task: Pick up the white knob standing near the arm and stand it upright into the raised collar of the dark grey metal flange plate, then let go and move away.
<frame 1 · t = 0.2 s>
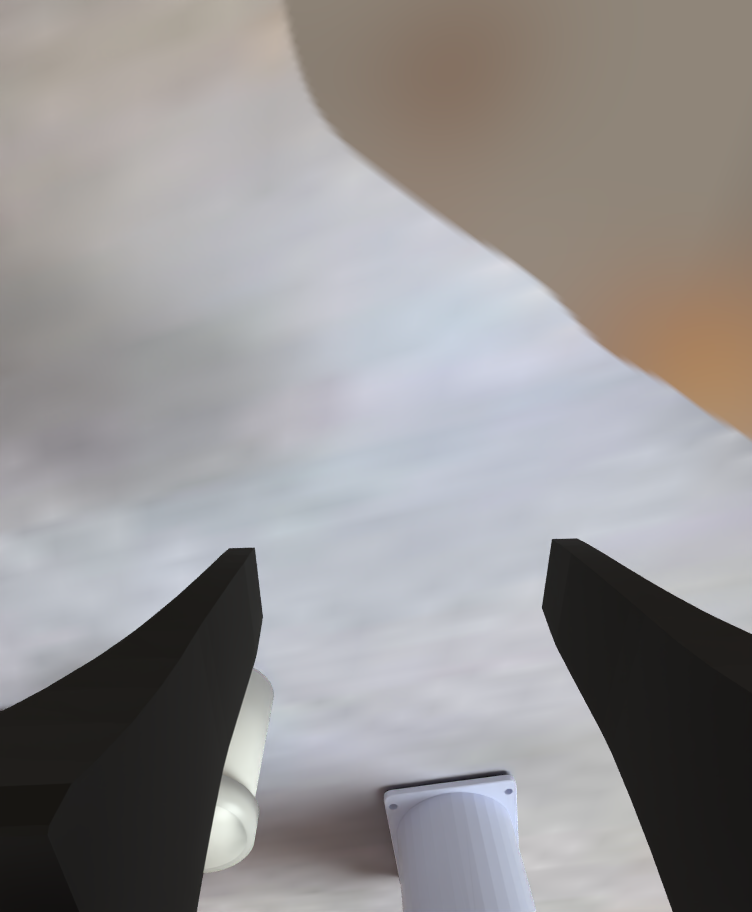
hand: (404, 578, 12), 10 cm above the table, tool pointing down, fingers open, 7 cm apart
white knob: (232, 693, 26), on the table
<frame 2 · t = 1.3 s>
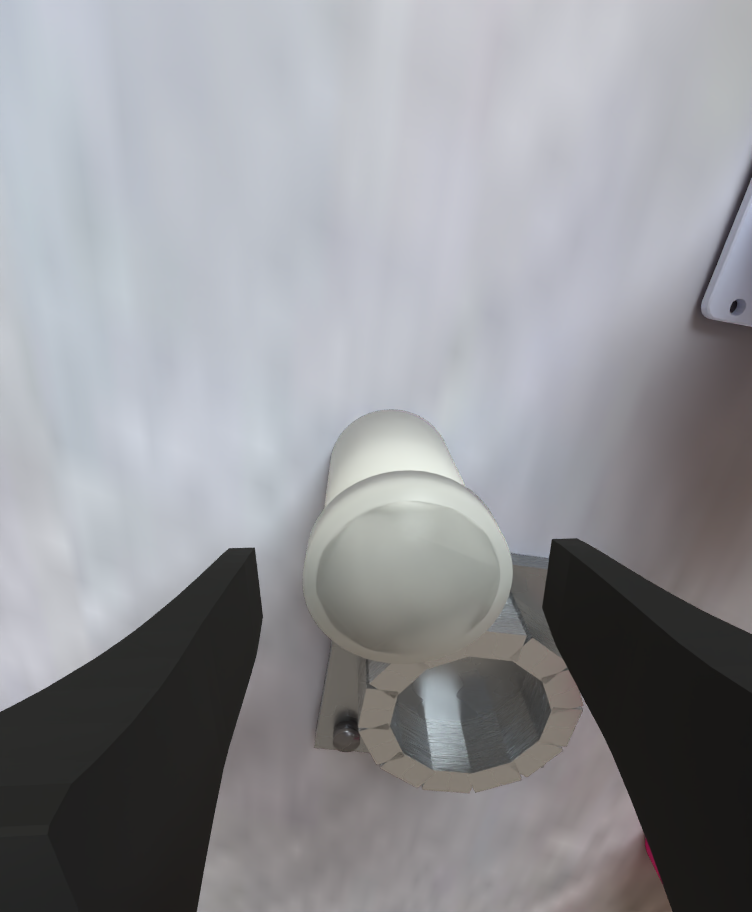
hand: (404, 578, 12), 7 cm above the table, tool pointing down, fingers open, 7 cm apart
flange: (455, 655, 22), on the table
white knob: (389, 466, 18), on the table
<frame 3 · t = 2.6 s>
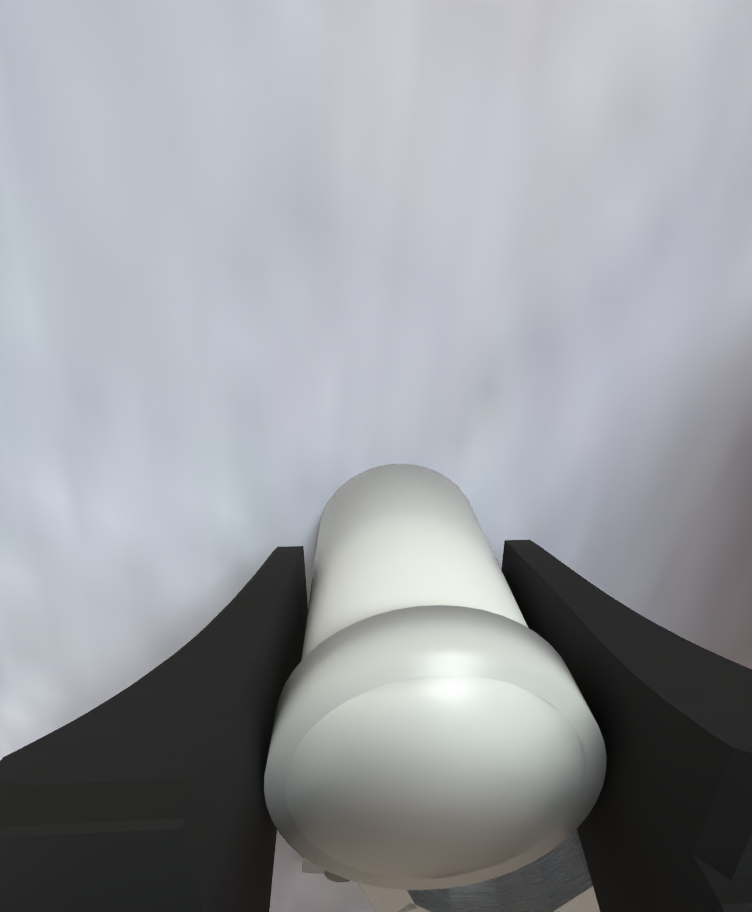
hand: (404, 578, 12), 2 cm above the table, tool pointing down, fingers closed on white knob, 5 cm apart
flange: (478, 759, 17), on the table
white knob: (397, 536, 14), on the table, touching gripper
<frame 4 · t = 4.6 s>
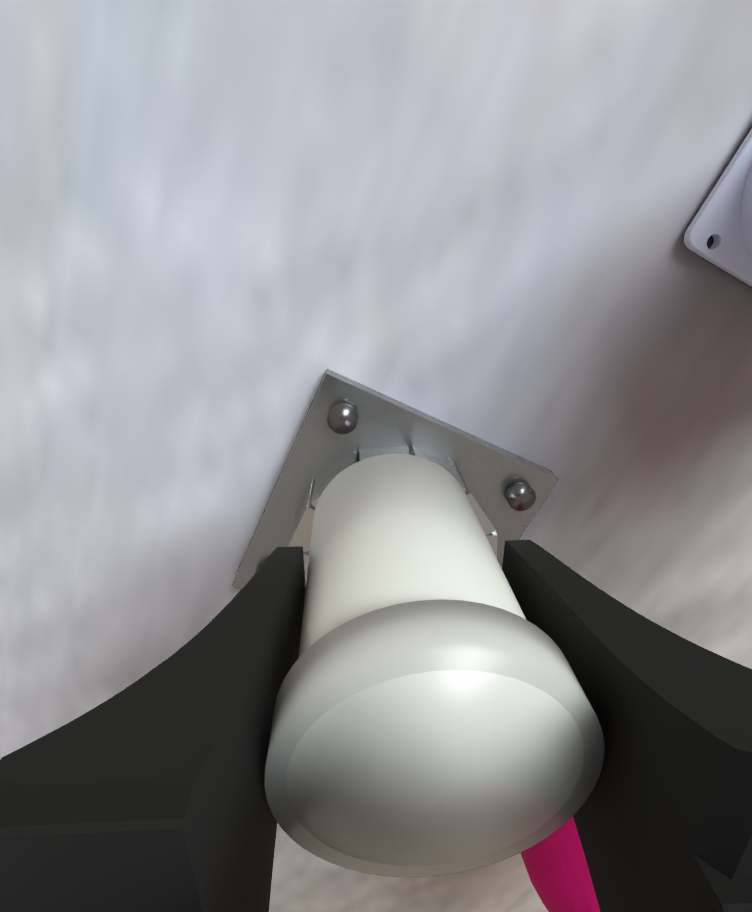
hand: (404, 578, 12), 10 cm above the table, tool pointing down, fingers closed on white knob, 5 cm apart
pepper mill: (557, 759, 29), on the table
flange: (388, 524, 23), on the table
white knob: (392, 526, 14), point 8 cm above the table, touching gripper
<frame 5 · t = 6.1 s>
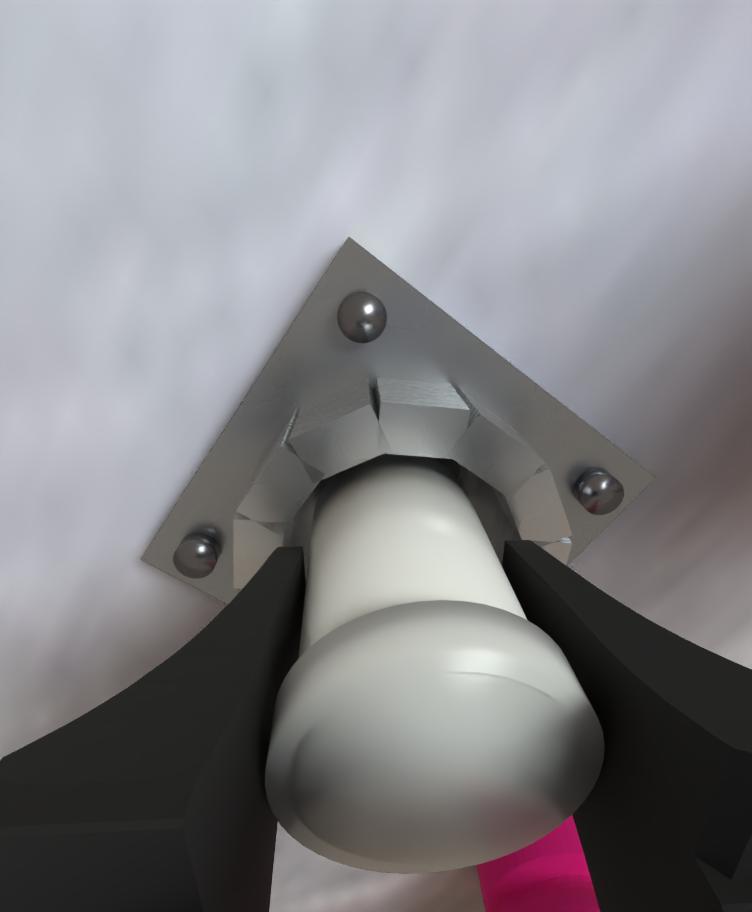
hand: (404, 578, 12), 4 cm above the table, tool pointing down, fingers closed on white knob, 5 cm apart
pepper mill: (542, 850, 23), on the table
flange: (393, 506, 15), on the table
white knob: (392, 522, 14), point 2 cm above the table, touching gripper
when the fingers open (4 cm above the table, at t = 6.9 s): white knob stays where it is, resting on flange.
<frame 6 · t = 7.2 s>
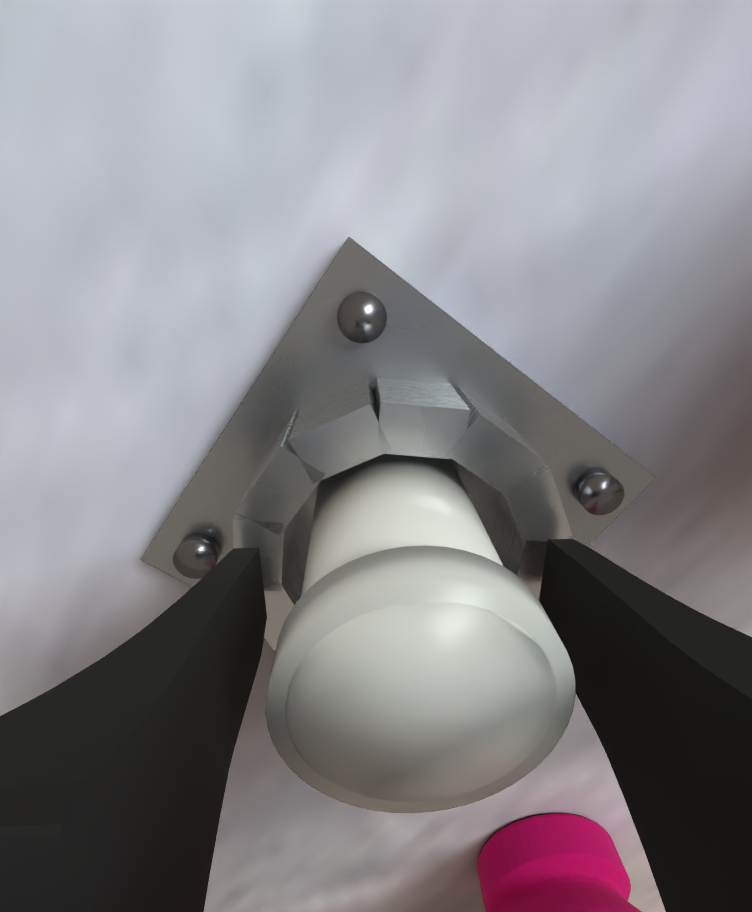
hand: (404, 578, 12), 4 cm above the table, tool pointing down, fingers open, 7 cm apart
pepper mill: (542, 850, 23), on the table
flange: (393, 506, 15), on the table
white knob: (390, 507, 14), point 1 cm above the table, touching flange
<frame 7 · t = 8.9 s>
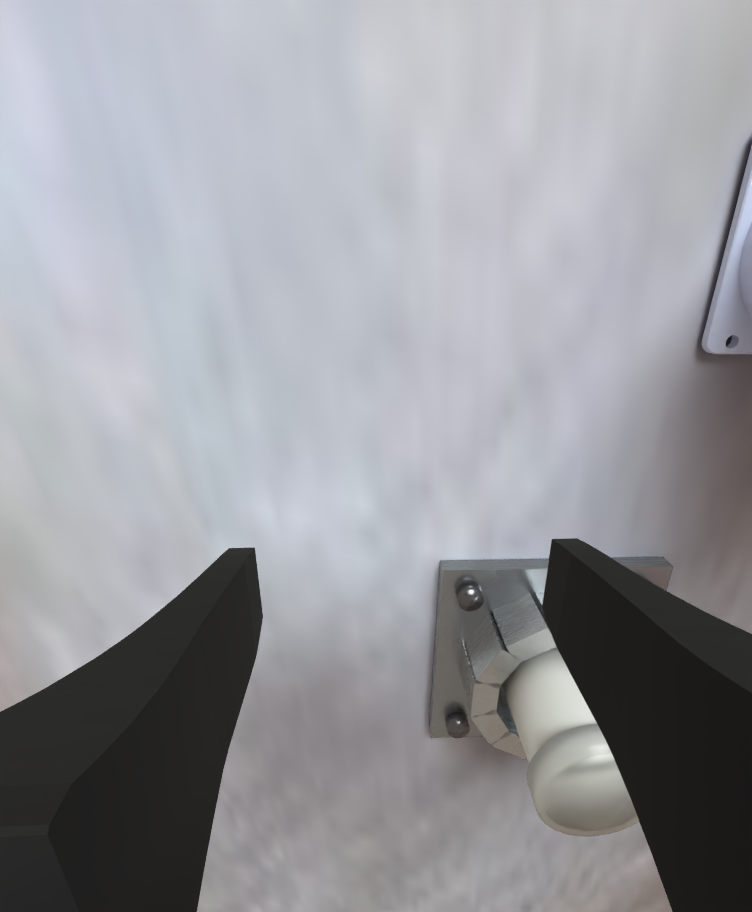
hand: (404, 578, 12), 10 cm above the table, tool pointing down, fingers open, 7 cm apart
flange: (537, 647, 26), on the table
white knob: (537, 654, 25), point 1 cm above the table, touching flange
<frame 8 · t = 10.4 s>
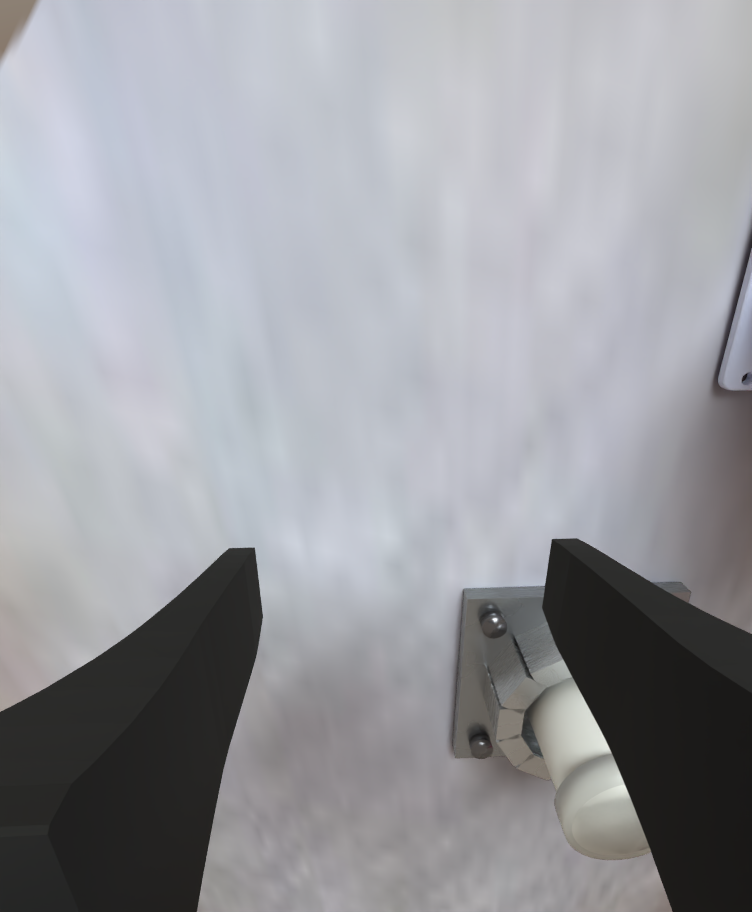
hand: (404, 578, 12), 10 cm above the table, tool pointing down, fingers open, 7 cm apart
flange: (558, 669, 26), on the table
white knob: (558, 678, 26), point 1 cm above the table, touching flange
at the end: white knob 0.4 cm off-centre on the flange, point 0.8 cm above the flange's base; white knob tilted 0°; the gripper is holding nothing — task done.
